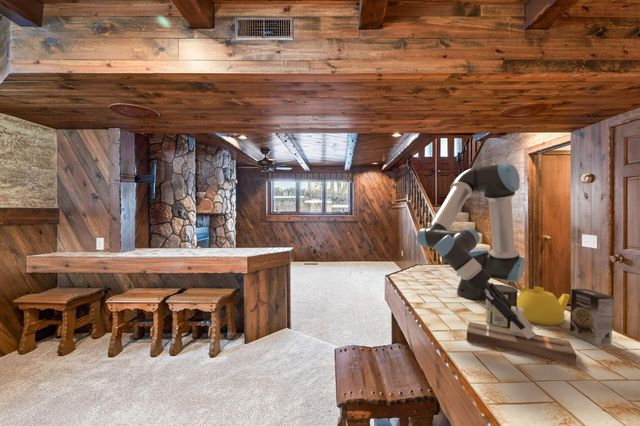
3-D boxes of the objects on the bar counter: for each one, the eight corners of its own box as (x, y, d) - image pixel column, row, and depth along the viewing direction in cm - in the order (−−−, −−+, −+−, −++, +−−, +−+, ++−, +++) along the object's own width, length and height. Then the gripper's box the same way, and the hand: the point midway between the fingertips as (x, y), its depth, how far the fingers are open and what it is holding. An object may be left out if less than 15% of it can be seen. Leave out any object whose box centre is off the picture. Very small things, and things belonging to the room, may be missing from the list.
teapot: (530, 326, 110) (531, 293, 109) (501, 308, 128) (502, 280, 128) (585, 328, 109) (586, 294, 108) (548, 310, 127) (549, 281, 127)
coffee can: (509, 320, 115) (510, 285, 115) (522, 331, 105) (523, 292, 105) (481, 318, 117) (482, 283, 117) (490, 328, 107) (491, 290, 107)
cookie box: (568, 333, 104) (570, 288, 103) (584, 332, 104) (586, 288, 104) (595, 346, 95) (597, 296, 94) (612, 344, 95) (614, 296, 95)
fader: (510, 331, 97) (511, 305, 97) (521, 333, 95) (522, 307, 95) (511, 335, 93) (511, 309, 93) (522, 338, 92) (523, 311, 92)
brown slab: (468, 329, 106) (468, 321, 106) (568, 350, 92) (568, 340, 92) (466, 340, 97) (466, 331, 97) (576, 365, 83) (576, 354, 83)
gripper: (467, 275, 109) (518, 328, 101) (462, 287, 94) (522, 351, 86) (483, 262, 106) (538, 316, 98) (481, 273, 91) (545, 338, 83)
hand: (530, 332), depth 92 cm, fingers open, 5 cm apart
